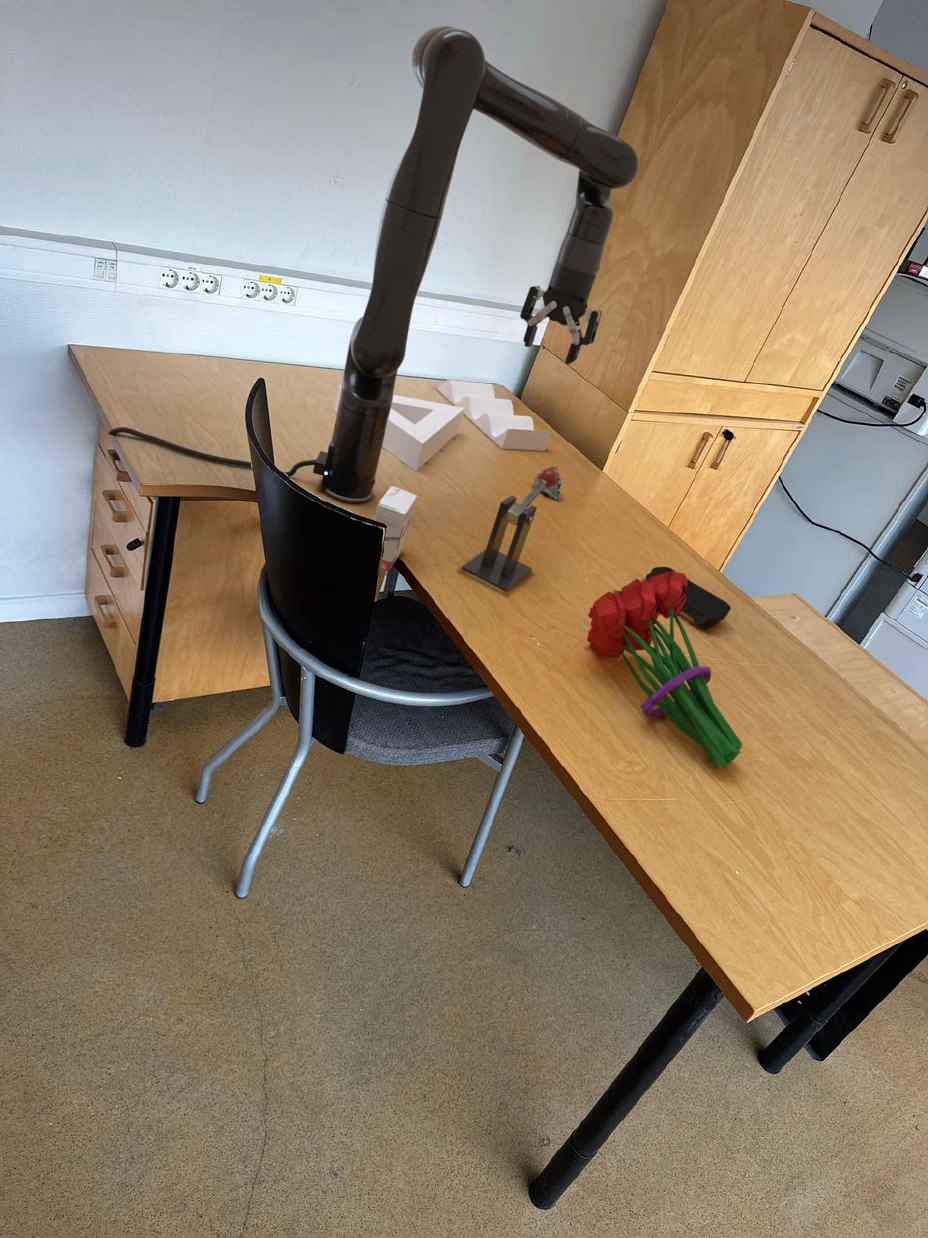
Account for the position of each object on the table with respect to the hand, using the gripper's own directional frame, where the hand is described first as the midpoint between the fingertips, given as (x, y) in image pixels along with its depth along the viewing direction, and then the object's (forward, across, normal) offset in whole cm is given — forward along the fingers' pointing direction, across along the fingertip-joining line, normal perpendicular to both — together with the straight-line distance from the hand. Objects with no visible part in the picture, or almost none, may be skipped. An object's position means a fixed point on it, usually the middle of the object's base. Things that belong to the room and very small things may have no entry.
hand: (548, 354), depth 157 cm
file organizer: (+32, -25, +45) cm, 61 cm away
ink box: (+32, -4, -39) cm, 51 cm away
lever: (+20, +12, -19) cm, 30 cm away
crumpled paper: (+32, +3, +17) cm, 37 cm away
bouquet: (+32, +47, -40) cm, 70 cm away
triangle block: (+32, -29, +15) cm, 46 cm away
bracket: (+32, +12, -25) cm, 43 cm away
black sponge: (+32, +42, -5) cm, 53 cm away
